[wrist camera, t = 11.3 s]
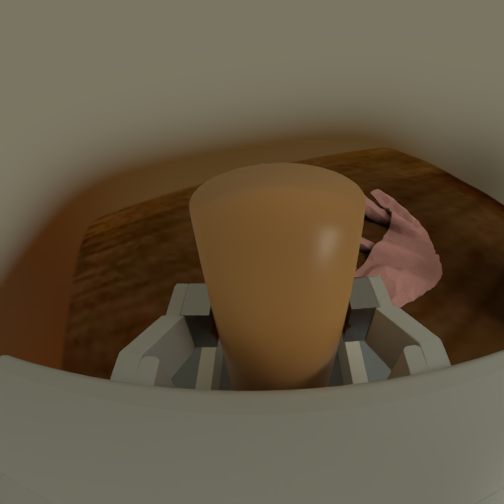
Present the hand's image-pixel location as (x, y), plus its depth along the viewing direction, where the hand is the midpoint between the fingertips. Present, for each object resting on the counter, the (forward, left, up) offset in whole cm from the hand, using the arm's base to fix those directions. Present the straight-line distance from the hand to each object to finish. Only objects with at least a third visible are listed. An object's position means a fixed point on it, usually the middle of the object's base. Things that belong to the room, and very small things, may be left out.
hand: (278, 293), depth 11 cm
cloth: (-9, -18, -9) cm, 22 cm away
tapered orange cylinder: (0, +1, -5) cm, 6 cm away
